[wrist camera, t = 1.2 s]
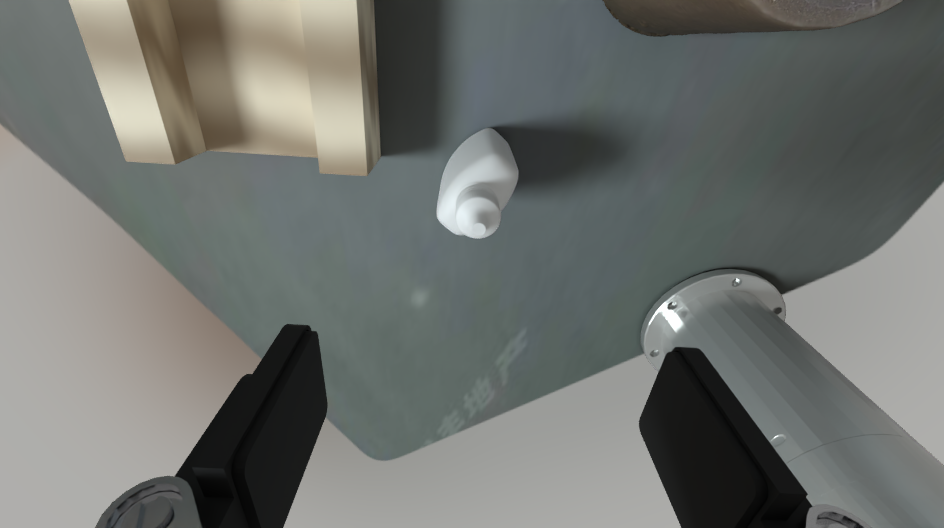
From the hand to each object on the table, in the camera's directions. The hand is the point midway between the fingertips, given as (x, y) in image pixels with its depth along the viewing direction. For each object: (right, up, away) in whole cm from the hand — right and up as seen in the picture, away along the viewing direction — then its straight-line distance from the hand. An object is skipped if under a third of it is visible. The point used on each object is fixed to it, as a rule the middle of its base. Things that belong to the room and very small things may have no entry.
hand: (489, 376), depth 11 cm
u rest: (-14, +17, +16) cm, 27 cm away
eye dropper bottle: (0, +11, +20) cm, 22 cm away
